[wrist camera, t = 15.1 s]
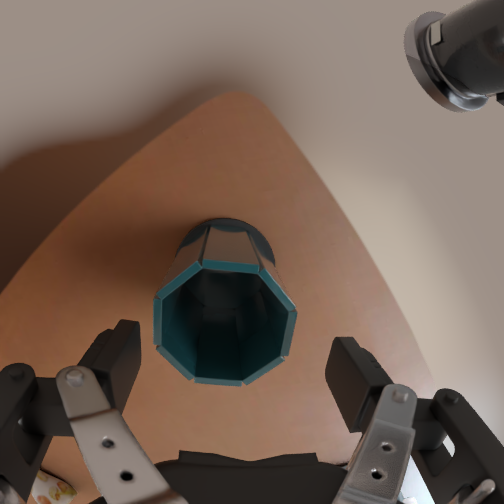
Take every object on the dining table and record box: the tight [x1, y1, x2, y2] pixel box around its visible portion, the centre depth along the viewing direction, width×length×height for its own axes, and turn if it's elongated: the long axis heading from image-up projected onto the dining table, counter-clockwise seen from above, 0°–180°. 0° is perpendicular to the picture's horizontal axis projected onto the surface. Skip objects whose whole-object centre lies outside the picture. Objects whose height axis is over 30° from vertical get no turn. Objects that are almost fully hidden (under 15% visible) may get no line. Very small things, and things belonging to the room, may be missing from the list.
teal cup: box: [153, 224, 297, 387], centre depth 17 cm, size 6×6×9 cm
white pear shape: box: [31, 469, 78, 504], centre depth 25 cm, size 8×10×10 cm
